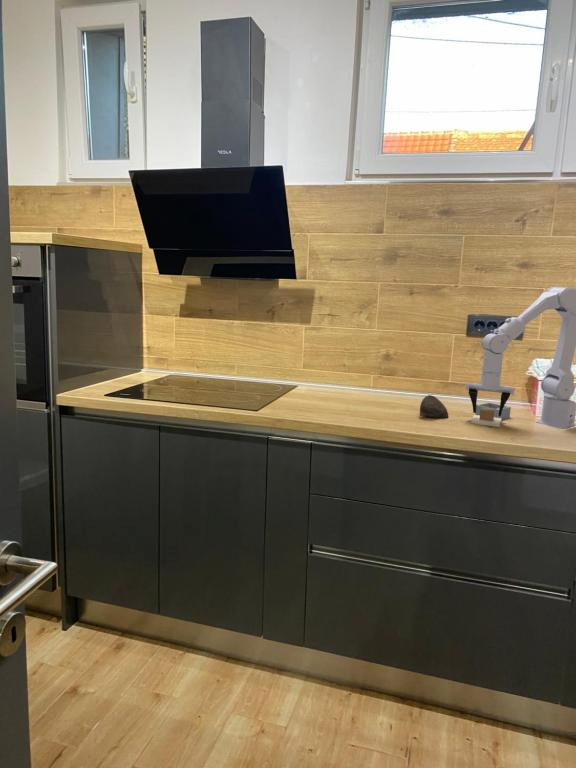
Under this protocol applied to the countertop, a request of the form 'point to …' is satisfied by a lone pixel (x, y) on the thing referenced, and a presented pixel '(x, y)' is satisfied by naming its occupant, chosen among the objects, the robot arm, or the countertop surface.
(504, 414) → the box
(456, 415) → the countertop surface
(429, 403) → the stone
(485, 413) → the lid
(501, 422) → the mat
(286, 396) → the countertop surface
